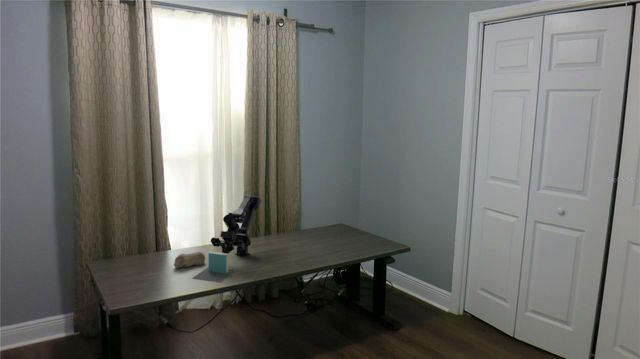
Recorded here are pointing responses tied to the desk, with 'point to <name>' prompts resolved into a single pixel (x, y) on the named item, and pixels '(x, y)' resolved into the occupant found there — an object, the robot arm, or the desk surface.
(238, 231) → the robot arm
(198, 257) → the sculpture
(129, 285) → the desk surface
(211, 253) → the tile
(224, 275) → the mat
